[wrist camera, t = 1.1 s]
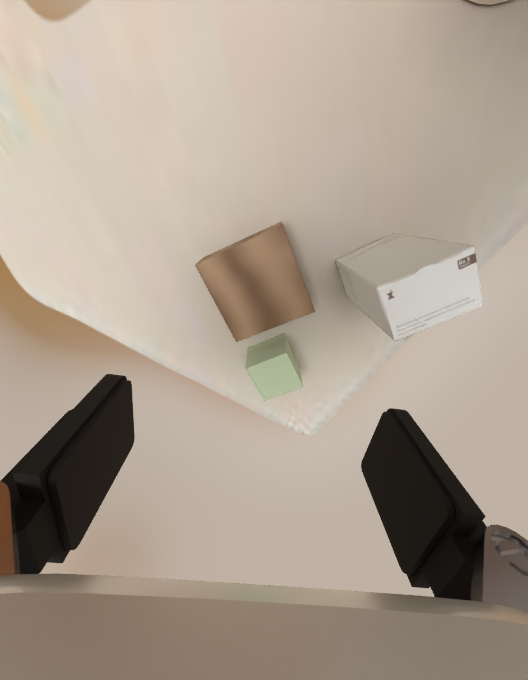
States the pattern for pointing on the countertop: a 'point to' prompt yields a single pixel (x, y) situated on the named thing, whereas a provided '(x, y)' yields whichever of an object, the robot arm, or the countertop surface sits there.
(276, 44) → the countertop surface
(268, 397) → the sage cube
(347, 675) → the robot arm
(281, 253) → the walnut block
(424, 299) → the skincare box
